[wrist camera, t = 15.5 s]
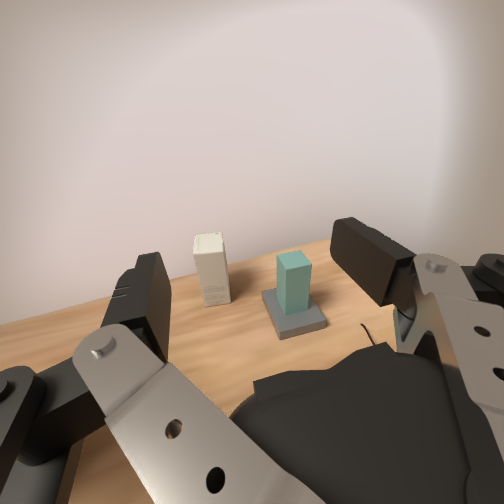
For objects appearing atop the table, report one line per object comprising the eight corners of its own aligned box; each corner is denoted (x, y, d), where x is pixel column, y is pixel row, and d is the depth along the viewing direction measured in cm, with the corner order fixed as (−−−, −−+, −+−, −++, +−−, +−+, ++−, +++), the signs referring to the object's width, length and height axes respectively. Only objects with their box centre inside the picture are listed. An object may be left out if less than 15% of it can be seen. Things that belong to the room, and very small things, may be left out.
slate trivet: (279, 340, 45) (279, 332, 44) (262, 299, 55) (261, 291, 54) (325, 327, 47) (326, 319, 46) (300, 289, 57) (301, 282, 55)
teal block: (285, 315, 47) (286, 269, 41) (276, 299, 51) (276, 255, 45) (307, 310, 48) (311, 264, 41) (297, 294, 52) (300, 250, 46)
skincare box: (205, 285, 61) (194, 233, 52) (230, 281, 61) (222, 230, 53) (204, 308, 54) (190, 253, 45) (232, 304, 54) (224, 249, 46)
